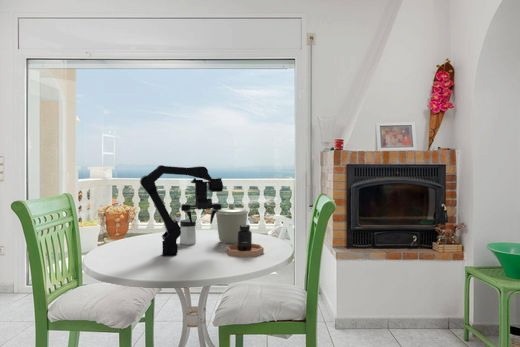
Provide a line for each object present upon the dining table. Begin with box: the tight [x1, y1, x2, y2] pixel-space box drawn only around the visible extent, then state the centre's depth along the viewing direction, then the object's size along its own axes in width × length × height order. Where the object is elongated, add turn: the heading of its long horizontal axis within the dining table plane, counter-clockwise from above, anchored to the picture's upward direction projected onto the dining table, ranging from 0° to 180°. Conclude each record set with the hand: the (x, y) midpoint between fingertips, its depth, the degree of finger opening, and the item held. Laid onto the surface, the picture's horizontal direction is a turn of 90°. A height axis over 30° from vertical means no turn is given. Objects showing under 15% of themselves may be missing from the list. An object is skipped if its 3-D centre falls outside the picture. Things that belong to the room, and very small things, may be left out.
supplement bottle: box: [236, 224, 253, 251], centre depth 174 cm, size 7×7×12 cm
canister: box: [215, 202, 249, 245], centre depth 197 cm, size 18×18×21 cm
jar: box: [179, 219, 197, 246], centre depth 194 cm, size 9×8×12 cm
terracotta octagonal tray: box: [225, 243, 264, 258], centre depth 175 cm, size 17×17×2 cm
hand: (201, 224), depth 176 cm, fingers open, 9 cm apart
